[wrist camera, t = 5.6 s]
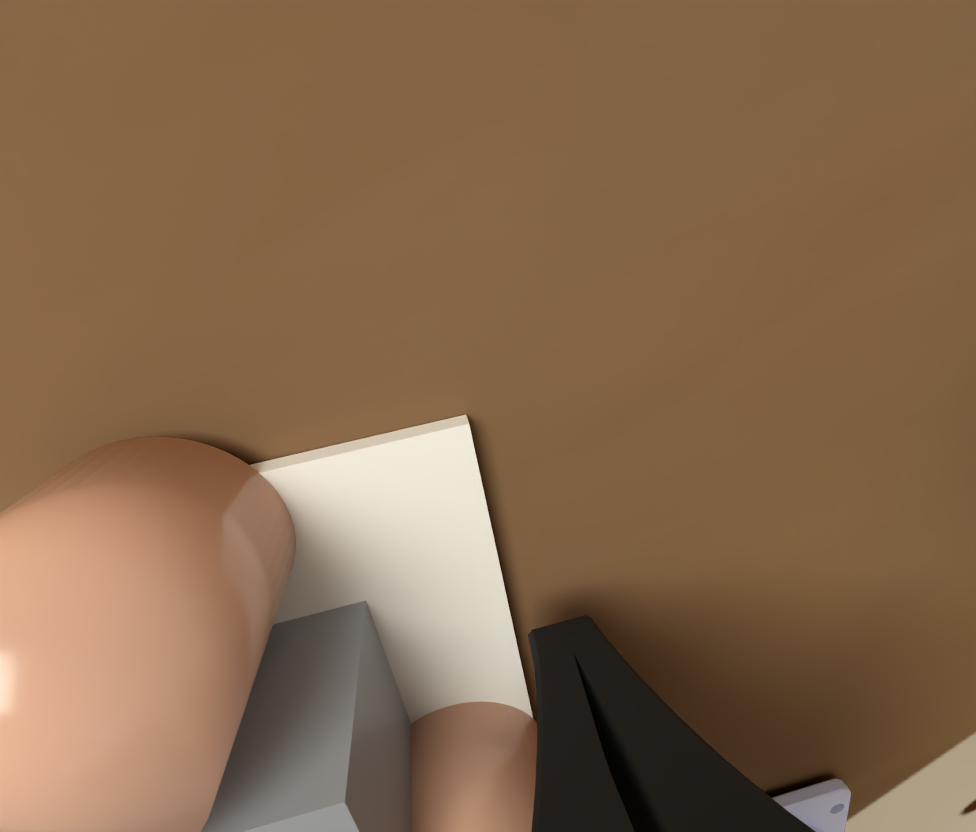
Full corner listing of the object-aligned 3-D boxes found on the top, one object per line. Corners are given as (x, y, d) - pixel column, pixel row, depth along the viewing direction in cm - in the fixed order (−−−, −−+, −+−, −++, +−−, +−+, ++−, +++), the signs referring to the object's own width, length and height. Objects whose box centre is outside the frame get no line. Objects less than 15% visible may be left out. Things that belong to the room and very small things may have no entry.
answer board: (540, 757, 14) (546, 779, 14) (38, 904, 13) (22, 934, 12) (465, 414, 10) (469, 425, 9) (-289, 589, 9) (-335, 614, 8)
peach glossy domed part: (324, 599, 10) (271, 848, 6) (112, 653, 10) (-97, 956, 6) (248, 411, 9) (104, 580, 4) (-12, 469, 8) (-427, 712, 4)
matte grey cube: (410, 723, 12) (413, 940, 8) (248, 768, 12) (176, 1016, 8) (366, 600, 10) (344, 801, 7) (177, 648, 10) (48, 888, 6)
